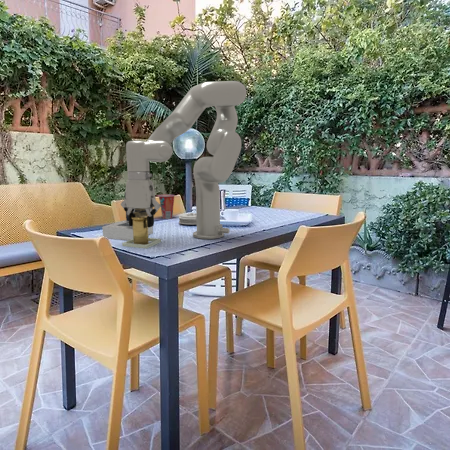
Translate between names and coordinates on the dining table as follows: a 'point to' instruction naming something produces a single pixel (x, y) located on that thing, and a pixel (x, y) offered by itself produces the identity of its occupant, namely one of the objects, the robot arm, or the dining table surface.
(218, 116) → the robot arm
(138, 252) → the dining table surface
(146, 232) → the gold metal cylinder
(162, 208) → the cup
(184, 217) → the lid
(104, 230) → the housing
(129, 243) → the green square frame
